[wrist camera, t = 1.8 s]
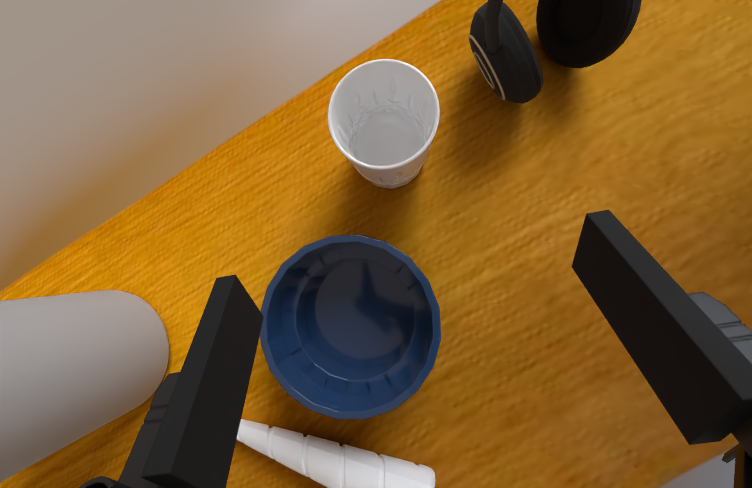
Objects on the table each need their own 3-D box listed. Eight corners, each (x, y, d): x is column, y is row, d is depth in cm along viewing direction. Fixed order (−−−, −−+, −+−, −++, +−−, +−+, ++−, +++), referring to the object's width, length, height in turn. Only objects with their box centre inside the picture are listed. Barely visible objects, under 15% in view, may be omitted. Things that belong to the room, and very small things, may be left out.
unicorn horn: (210, 374, 35) (179, 393, 30) (438, 459, 33) (443, 494, 28) (195, 419, 35) (162, 445, 30) (422, 508, 33) (425, 550, 28)
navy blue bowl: (462, 292, 33) (477, 301, 26) (381, 415, 34) (374, 457, 27) (340, 212, 35) (322, 200, 28) (262, 331, 35) (226, 349, 28)
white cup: (445, 170, 34) (460, 133, 24) (374, 209, 34) (360, 189, 24) (406, 101, 35) (405, 38, 25) (336, 140, 35) (308, 94, 25)
